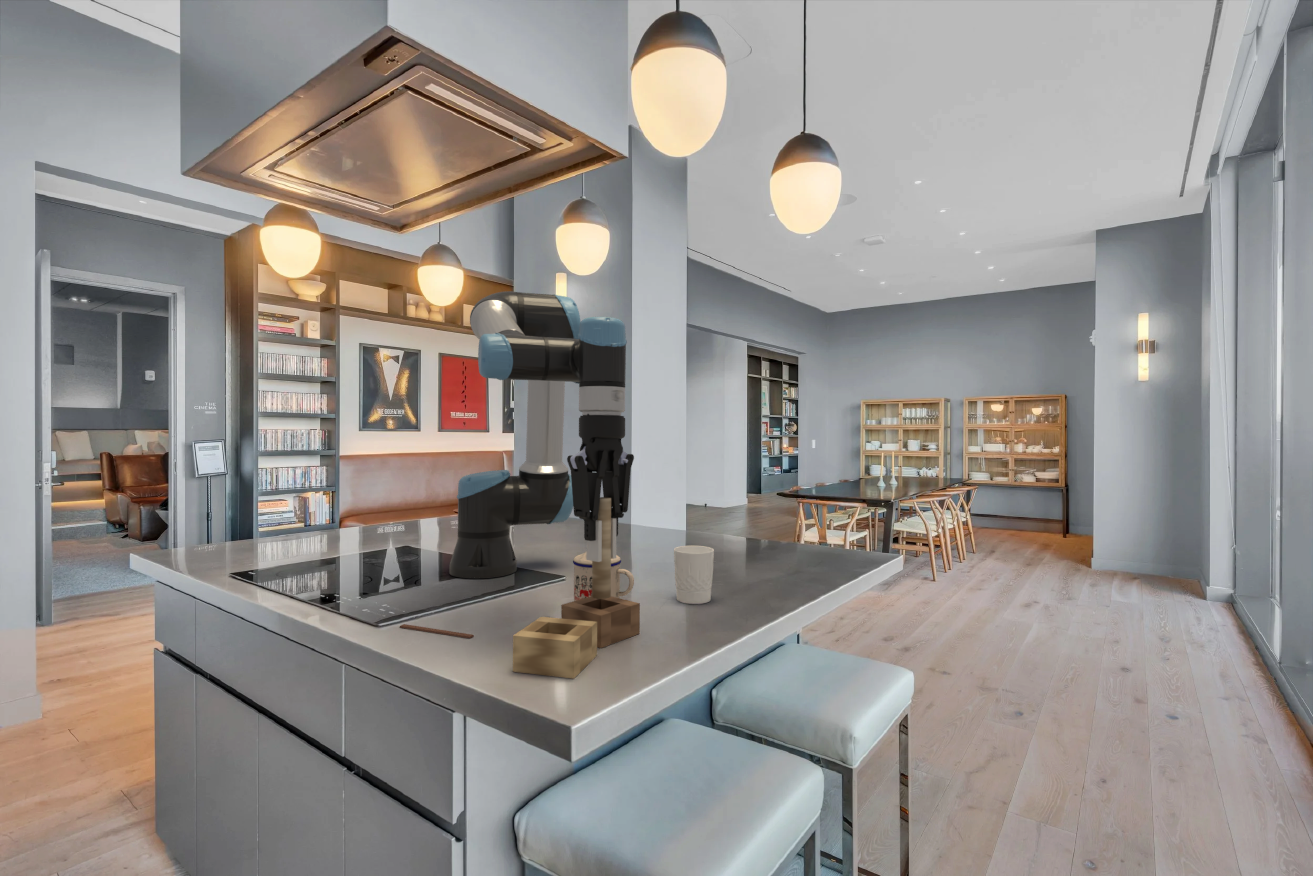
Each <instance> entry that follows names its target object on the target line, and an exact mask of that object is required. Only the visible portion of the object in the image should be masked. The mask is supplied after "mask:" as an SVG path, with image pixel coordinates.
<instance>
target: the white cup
mask: <svg viewBox="0 0 1313 876" xmlns="http://www.w3.org/2000/svg"><path fill="white" fill-rule="evenodd" d="M714 554H715V549H714V548H713V547H709V546H704V545H682V546H676V547H674V548H673V557H674V560H673V562H674V579H675V582H674V583H675V588H676V590H675V591H676V600H677V602H679V603H684V604H690V605H702V604H707V603H708V602H709V603H710V601H711V600H712V597H711V596H712V587H713V575H714V574H713V573H714V559H715V558H714V556H715V555H714Z"/></svg>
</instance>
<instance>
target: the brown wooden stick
mask: <svg viewBox="0 0 1313 876" xmlns="http://www.w3.org/2000/svg"><path fill="white" fill-rule="evenodd" d="M399 628H400V629H405V630H406V629H407V630H413V631H419V632H426V633H432V634H439V635H445V636H453V637H458V638H463V639H465V638H466V639H472V638H474V636H475V635H474V634H472V633H464V632H459V631H451V630H445V629H440V628H439V629H437V628H434V627H433V628H432V627H426V626H425V627H424V626H419V625H418V626H417V625H412V624H407V623H406V624H405V623H404V624H401V625H399Z"/></svg>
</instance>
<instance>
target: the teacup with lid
mask: <svg viewBox="0 0 1313 876" xmlns="http://www.w3.org/2000/svg"><path fill="white" fill-rule="evenodd" d="M621 563H622V560H621V557H620V556H619V555H617V554H616V558H615V559H611V596H612V597H616V598H620V597H623V596H627V595H629V594H630V593H631V592H632V590H633V588H634V586H635V577H634V575H633V572H631V571H629V570H627V569H625V568H621ZM572 564H573V567H574V568H573V601H577V600H580V599H584V598H587V597H591V596H592V561H590V560H586V551H585V552H583V553H581V554H578V555H576V556H574V558H573V559H572ZM621 574H623V575H625V576H627V578H628V587H627V589H626V590H625V591H620V588H621V587H620V581H621V579H620V578H621V577H620V576H621ZM620 599H621V598H620Z"/></svg>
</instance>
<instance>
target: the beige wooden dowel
mask: <svg viewBox="0 0 1313 876" xmlns="http://www.w3.org/2000/svg"><path fill="white" fill-rule="evenodd" d="M597 520H601V521H602V561H601V562H595V561H592V597H593V598H596V599H606V598H610V597H611V498H609V497H603V496H600V503H599V513H598V519H597Z"/></svg>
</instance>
